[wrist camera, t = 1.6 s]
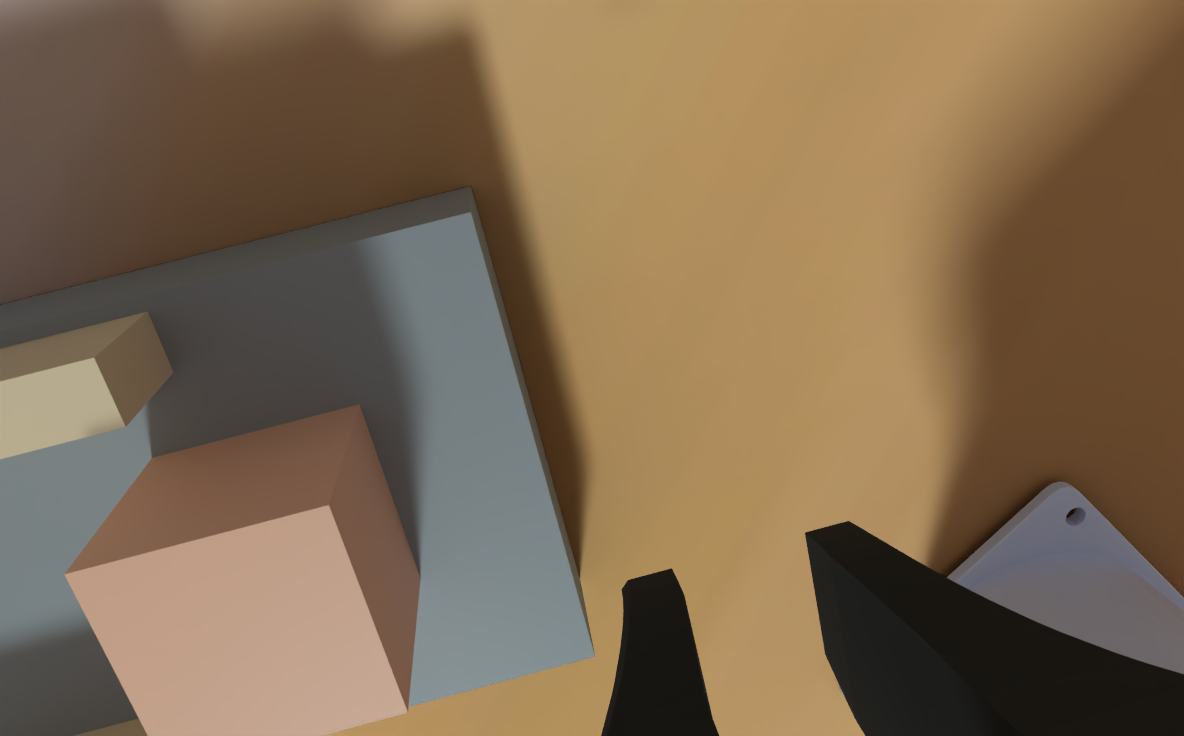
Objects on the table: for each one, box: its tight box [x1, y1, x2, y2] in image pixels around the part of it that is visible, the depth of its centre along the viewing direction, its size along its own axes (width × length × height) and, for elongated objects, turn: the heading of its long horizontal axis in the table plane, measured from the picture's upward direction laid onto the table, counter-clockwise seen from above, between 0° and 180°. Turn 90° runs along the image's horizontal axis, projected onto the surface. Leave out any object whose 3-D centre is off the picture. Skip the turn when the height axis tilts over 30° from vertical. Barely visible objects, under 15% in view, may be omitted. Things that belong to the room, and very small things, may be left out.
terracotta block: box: [64, 404, 421, 736], centre depth 16 cm, size 4×4×4 cm
